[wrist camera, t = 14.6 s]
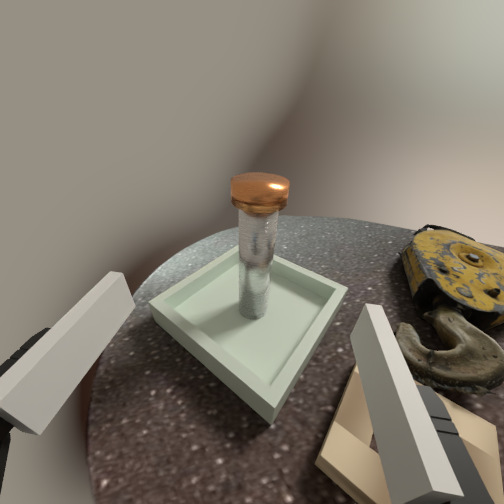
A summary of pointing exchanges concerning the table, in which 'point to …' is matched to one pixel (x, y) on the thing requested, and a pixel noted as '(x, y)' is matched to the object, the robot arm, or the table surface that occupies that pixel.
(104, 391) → the table surface
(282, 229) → the table surface
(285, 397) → the pale green tray
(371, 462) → the bracket
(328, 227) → the table surface
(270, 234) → the steel pin
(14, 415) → the robot arm
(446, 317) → the pulley block
